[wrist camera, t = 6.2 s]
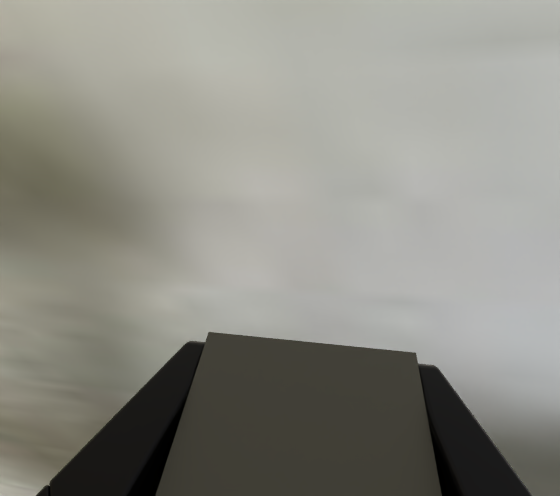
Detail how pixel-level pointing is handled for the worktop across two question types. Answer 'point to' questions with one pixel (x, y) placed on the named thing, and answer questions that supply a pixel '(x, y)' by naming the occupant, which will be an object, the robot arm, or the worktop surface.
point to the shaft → (301, 423)
